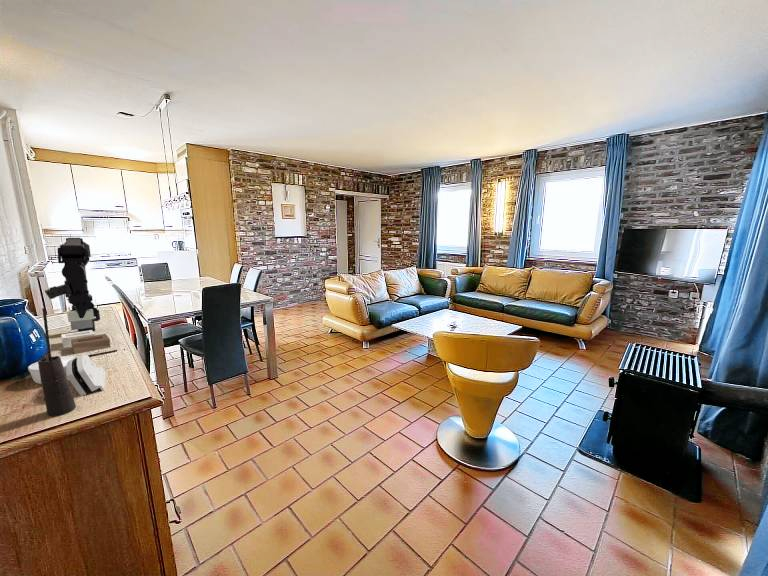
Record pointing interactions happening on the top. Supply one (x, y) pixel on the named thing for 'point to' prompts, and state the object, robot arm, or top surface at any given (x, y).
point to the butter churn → (54, 381)
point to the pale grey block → (80, 319)
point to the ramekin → (36, 374)
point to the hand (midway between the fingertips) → (81, 317)
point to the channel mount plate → (91, 344)
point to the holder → (67, 337)
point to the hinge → (85, 374)
